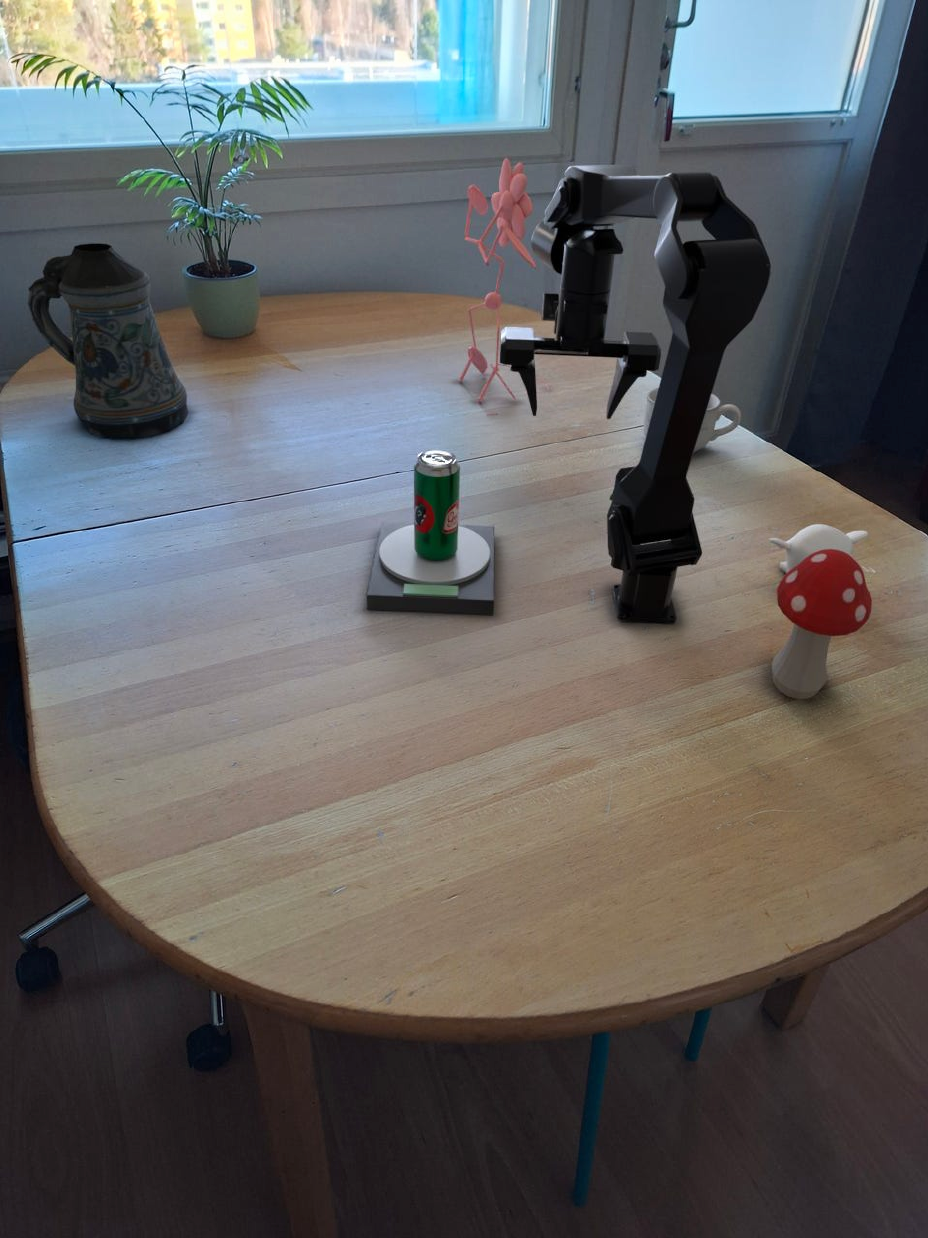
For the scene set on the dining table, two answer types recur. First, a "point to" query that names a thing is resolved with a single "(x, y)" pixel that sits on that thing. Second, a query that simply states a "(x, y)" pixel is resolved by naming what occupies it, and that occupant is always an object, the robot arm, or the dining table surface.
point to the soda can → (436, 504)
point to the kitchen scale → (433, 573)
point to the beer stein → (110, 344)
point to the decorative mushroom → (818, 617)
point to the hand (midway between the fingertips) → (571, 416)
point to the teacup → (708, 423)
